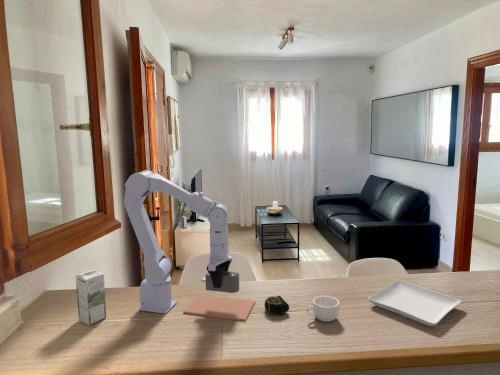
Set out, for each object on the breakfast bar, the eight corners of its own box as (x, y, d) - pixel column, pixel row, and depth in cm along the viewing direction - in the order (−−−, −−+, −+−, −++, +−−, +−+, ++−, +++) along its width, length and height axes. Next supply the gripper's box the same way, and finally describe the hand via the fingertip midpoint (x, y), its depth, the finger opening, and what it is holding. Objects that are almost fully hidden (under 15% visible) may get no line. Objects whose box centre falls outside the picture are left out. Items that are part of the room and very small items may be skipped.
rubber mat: (183, 313, 111) (183, 311, 111) (198, 296, 123) (198, 294, 123) (245, 321, 106) (245, 319, 106) (255, 302, 118) (255, 300, 118)
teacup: (332, 310, 112) (332, 294, 111) (343, 323, 105) (344, 306, 104) (302, 314, 110) (302, 297, 109) (311, 327, 103) (311, 309, 102)
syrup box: (96, 312, 112) (92, 268, 110) (107, 318, 108) (104, 272, 106) (78, 320, 107) (74, 274, 105) (89, 326, 104) (85, 279, 102)
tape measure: (289, 314, 110) (290, 303, 110) (269, 318, 108) (269, 306, 108) (281, 304, 117) (281, 293, 116) (261, 307, 115) (261, 296, 114)
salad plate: (434, 334, 99) (435, 323, 99) (365, 307, 115) (366, 297, 115) (462, 309, 113) (463, 299, 113) (397, 288, 129) (398, 279, 128)
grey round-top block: (199, 289, 113) (199, 274, 112) (205, 283, 117) (204, 269, 116) (237, 293, 110) (236, 278, 109) (240, 287, 114) (240, 272, 113)
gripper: (223, 251, 103) (224, 295, 105) (237, 237, 117) (238, 276, 119) (201, 249, 105) (202, 293, 107) (217, 235, 119) (218, 274, 121)
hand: (219, 284), depth 113 cm, fingers closed on grey round-top block, 4 cm apart
